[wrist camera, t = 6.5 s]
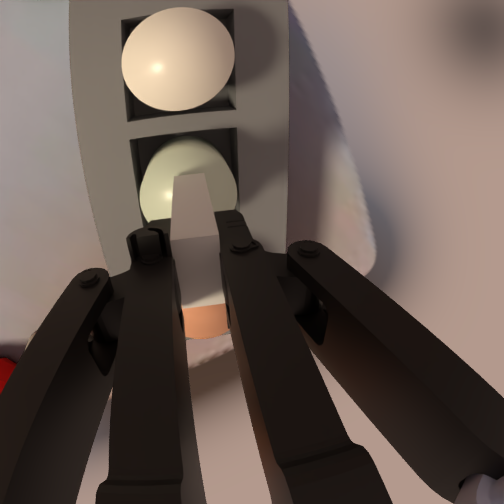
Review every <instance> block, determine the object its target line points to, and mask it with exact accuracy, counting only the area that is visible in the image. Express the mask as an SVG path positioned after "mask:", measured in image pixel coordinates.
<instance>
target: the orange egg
mask: <svg viewBox="0 0 504 504" xmlns="http://www.w3.org/2000/svg"><path fill="white" fill-rule="evenodd" d="M182 311H183V316H184V324H185V337H188V338H194V339H207V338H213V337H216V336H219V335H222V334H224V333H226V332H227V331H229V330H230V329H228V325H227V315H226V305H225V303H223V304H216V305H208V306H201V307H193V308H185V309H183V307H182Z"/></svg>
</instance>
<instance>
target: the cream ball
mask: <svg viewBox="0 0 504 504" xmlns="http://www.w3.org/2000/svg"><path fill="white" fill-rule="evenodd" d="M234 58H235V52H234V45H233V41H232V39H231V36H230V34H229V32H228V31H227V29H226V28H225V26H224V25H223V24H222V23H221V22H220V21H219V20H218V19H217V18H215V17H214V16H212V15H211V14H209V13H207V12H204V11H202V10H199V9H194V8H188V7H176V8H170V9H166V10H162V11H160V12H157V13H155V14H153V15H151V16H149V17H148V18H146V19H145V20H144V21H142V22H141V23H140V24H139V25H138V26H137V27H136V28H135V29H134V30H133V32H132V33H131V34H130V36H129V38H128V39H127V42H126V44H125V46H124V49H123V53H122V73H123V77H124V80H125V82H126V84H127V86H128V88H129V89H130V91H131V92H132V93H133V94H134V95H135V96H136V97H137V98H138V99H139V100H140V101H142V102H144V103H145V104H147V105H149V106H151V107H154V108H157V109H160V110H166V111H182V110H187V109H191V108H194V107H197V106H199V105H202V104H203V103H205V102H207V101H209V100H210V99H211V98H213V97H214V96H215V95H216V94H217V93H218V92H219V91H220V90H221V89H222V88H223V87H224V85H225V84H226V82H227V81H228V79H229V77H230V75H231V72H232V69H233V65H234Z"/></svg>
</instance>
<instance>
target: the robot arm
mask: <svg viewBox="0 0 504 504" xmlns="http://www.w3.org/2000/svg"><path fill="white" fill-rule="evenodd" d="M126 242H127V246H128V250H129V254H130V258H131V266H130V269H129V270H128V271H126V272H123V273H121V274H118V275H115V276H112V277H109V274H108V271H106V270H105V269H102V268H90V269H88V270H87V269H86V270H84V271H82V272H81V273H79V274H77V275H76V276H75V277H74V278H73V279H72V281H71V282H70V284H69V285H68V286H67V288H66V289H65V290H64V292H63V293H62V295H61V296H60V298H59V299H58V300H57V302H56V303H55V305H54V306H53V308H52V309H51V311H50V312H49V314H48V315H47V317H46V318H45V320H44V321H43V323H42V324H41V326H40V327H39V329H38V330H37V332H36V333H35V335H34V337H33V338H32V340H31V341H30V343H29V345H28V346H27V348H26V350H25V351H24V353H23V355H22V356H21V358H20V360H19V361H18V363H17V365H16V367H15V368H14V370H13V372H12V374H11V375H10V377H9V379H8V381H7V383H6V385H5V386H4V388H3V390H2V392H1V394H0V504H76V500H77V496H78V493H79V489H80V485H81V482H82V478H83V475H84V471H85V468H86V464H87V461H88V458H89V455H90V452H91V448H92V445H93V442H94V439H95V436H96V433H97V430H98V427H99V424H100V421H101V418H102V415H103V412H104V409H105V406H106V403H107V401H108V398H109V395H110V392H111V389H112V387H113V390H112V402H111V403H112V404H111V417H110V436H109V438H110V439H109V472H108V477H107V480H105V481H104V482H102V483H101V484H100V485H99V487H98V490H97V492H96V502H95V504H207V503H206V499H205V492H204V486H203V480H202V474H201V468H200V462H199V455H198V448H197V442H196V434H195V426H194V419H193V410H192V401H191V392H190V383H189V373H188V362H187V350H186V338H185V324H184V316H183V311H182V307H183V309H185V308H193V307H201V306H208V305H216V304H223V303H225V305H226V315H227V325H228V329H230V332H231V337H232V342H233V346H234V351H235V355H236V359H237V364H238V368H239V372H240V377H241V381H242V385H243V389H244V393H245V398H246V402H247V406H248V410H249V414H250V418H251V423H252V427H253V431H254V434H255V438H256V442H257V446H258V450H259V454H260V458H261V461H262V465H263V469H264V473H265V477H266V480H267V484H268V488H269V491H270V495H271V500H272V504H393V503H392V501H391V498H390V496H389V494H388V492H387V490H386V487H385V485H384V483H383V481H382V479H381V476H380V474H379V472H378V470H377V468H376V465H375V463H374V461H373V459H372V458H371V456H370V454H369V452H367V450H366V449H365V448H364V447H363V446H361V445H358V444H355V443H353V442H352V441H351V440H350V438H349V436H348V435H347V432H346V430H345V428H344V426H343V423H342V421H341V419H340V417H339V414H338V412H337V410H336V407H335V405H334V403H333V401H332V398H331V397H330V394H329V392H328V389H327V387H326V385H325V383H324V380H323V378H322V376H321V374H320V371H319V369H318V367H317V365H316V363H315V360H314V358H313V356H312V354H311V351H310V349H311V350H312V352H313V353H314V354H315V355H316V357H317V358H318V359H319V360H320V361H321V363H322V364H323V365H324V366H325V367H326V369H327V370H328V371H329V372H330V373H331V375H332V376H333V377H334V378H335V379H336V380H337V382H338V383H339V384H340V385H341V386H342V388H343V389H344V390H345V391H346V392H347V393H348V395H349V396H350V397H351V398H352V399H353V401H354V402H355V403H356V404H357V405H358V406H359V408H360V409H361V410H362V411H363V412H364V414H365V415H366V416H367V417H368V418H369V419H370V421H371V422H372V423H373V424H374V425H375V426H376V428H377V429H378V430H379V431H380V432H381V433H382V435H383V436H384V437H385V438H386V439H387V440H388V442H389V443H390V444H391V445H392V446H393V447H394V449H395V450H396V451H397V452H398V453H399V454H400V455H401V456H402V458H403V459H404V460H405V461H406V462H407V464H408V465H409V466H410V467H411V468H412V469H413V470H414V471H415V473H416V474H417V475H418V476H419V477H420V478H421V479H422V480H423V481H424V482H425V483H426V484H427V485H428V486H429V487H430V488H431V489H432V490H433V491H435V492H436V493H438V494H439V495H440V496H441V497H443V498H444V499H446V500H448V501H450V502H452V503H453V504H504V398H503V397H502V396H501V395H500V394H499V393H498V392H497V391H496V390H495V389H494V388H493V387H492V386H490V385H489V384H488V383H487V382H486V381H485V380H484V379H483V378H482V377H481V376H480V375H479V374H478V373H476V372H475V371H474V370H473V369H472V368H471V367H470V366H469V365H468V364H466V363H465V362H464V361H463V360H462V359H461V358H460V357H459V356H458V355H457V354H455V353H454V352H453V351H452V350H451V349H450V348H449V347H447V346H446V345H445V344H444V343H443V342H442V341H441V340H439V339H438V338H437V337H436V336H435V335H434V334H433V333H431V332H430V331H429V330H428V329H427V328H426V327H424V326H423V325H422V324H421V323H420V322H419V321H417V320H416V319H415V318H414V317H413V316H411V315H410V314H409V313H408V312H407V311H405V310H404V309H403V308H402V307H401V306H400V305H398V304H397V303H396V302H395V301H394V300H392V299H391V298H390V297H389V296H387V295H386V294H385V293H384V292H383V291H381V290H380V289H379V288H378V287H376V286H375V285H374V284H373V283H371V282H370V281H369V280H368V279H366V278H365V277H364V276H363V275H362V274H360V273H359V272H358V271H357V270H355V269H354V268H353V267H351V266H350V265H349V264H348V263H346V262H345V261H344V260H343V259H341V258H340V257H339V256H337V255H336V254H335V253H334V252H332V251H331V250H330V249H328V248H327V247H326V246H324V245H322V244H321V243H318V242H314V241H310V240H303V241H298V242H295V243H293V244H291V245H290V246H289V247H288V251H287V254H284V253H272V252H268V251H265V250H264V248H263V246H262V245H261V243H260V242H259V241H257V240H254V239H253V238H252V235H251V233H250V231H249V228H248V226H247V224H246V222H245V219H244V217H243V215H242V214H241V213H240V212H238V211H237V210H235V209H234V210H225V211H216V212H213V208H212V204H211V200H210V195H209V191H208V187H207V183H206V178H205V174H204V173H198V174H189V175H180V176H174V182H173V196H172V211H171V218H166V219H158V220H151V221H150V222H149V223H148V224H147V225H146V226H145V227H143V228H139V229H137V230H135V231H133V232H131V233H130V234H129V235H128V236H127V238H126ZM309 348H310V349H309Z"/></svg>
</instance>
